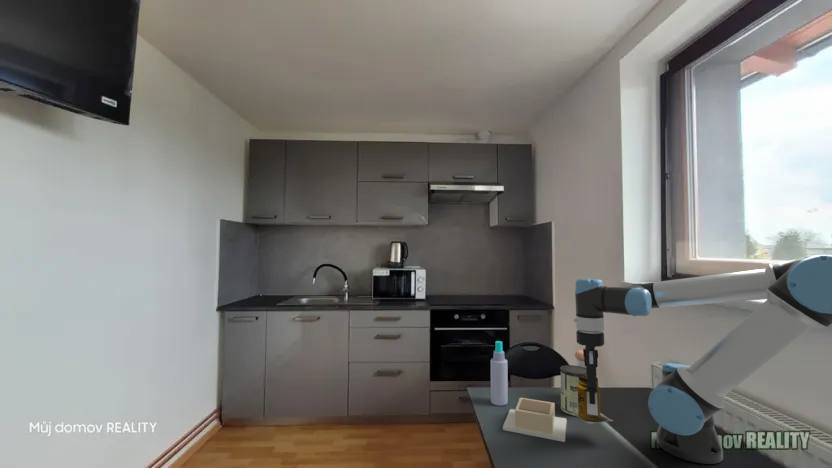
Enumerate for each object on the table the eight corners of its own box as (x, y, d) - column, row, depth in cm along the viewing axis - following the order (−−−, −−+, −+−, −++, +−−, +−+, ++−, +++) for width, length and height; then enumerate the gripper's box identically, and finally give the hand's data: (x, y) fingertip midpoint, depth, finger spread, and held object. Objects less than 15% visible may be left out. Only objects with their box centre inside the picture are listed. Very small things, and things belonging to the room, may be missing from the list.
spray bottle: (506, 399, 140) (506, 340, 140) (508, 406, 134) (508, 344, 134) (489, 399, 140) (489, 339, 141) (491, 405, 134) (491, 343, 135)
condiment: (572, 413, 114) (571, 373, 115) (597, 411, 116) (596, 371, 116) (586, 424, 107) (585, 381, 108) (613, 422, 108) (612, 379, 109)
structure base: (566, 421, 122) (566, 402, 122) (565, 442, 109) (564, 420, 110) (510, 411, 129) (510, 393, 130) (502, 429, 117) (502, 409, 117)
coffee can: (586, 405, 135) (585, 365, 136) (597, 417, 125) (597, 374, 126) (556, 403, 136) (556, 364, 137) (565, 416, 126) (565, 373, 127)
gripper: (576, 324, 122) (578, 396, 121) (576, 336, 105) (578, 420, 104) (602, 325, 119) (604, 399, 118) (606, 338, 102) (608, 425, 101)
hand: (592, 409), depth 111 cm, fingers closed on condiment, 6 cm apart
